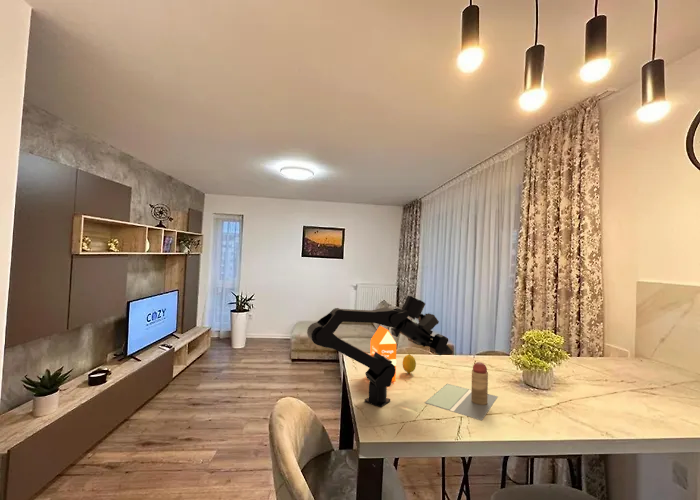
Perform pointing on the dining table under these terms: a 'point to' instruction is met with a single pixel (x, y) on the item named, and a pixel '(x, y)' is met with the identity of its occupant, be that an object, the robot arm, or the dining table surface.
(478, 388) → the red topped wooden cylinder
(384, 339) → the orange juice
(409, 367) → the lemon
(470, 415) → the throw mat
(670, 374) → the dining table surface
